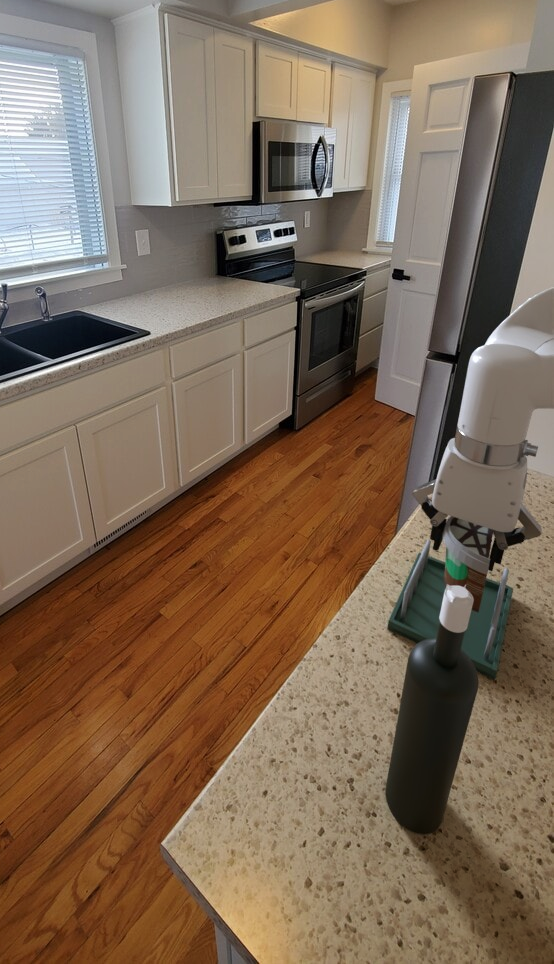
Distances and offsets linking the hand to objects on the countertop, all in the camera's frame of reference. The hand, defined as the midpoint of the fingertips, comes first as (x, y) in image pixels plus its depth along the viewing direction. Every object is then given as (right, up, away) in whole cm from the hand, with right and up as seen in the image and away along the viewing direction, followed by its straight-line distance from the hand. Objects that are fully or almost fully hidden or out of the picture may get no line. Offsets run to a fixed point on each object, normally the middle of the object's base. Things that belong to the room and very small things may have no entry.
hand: (463, 553), depth 68 cm
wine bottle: (-13, -21, -16) cm, 30 cm away
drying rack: (0, -11, +5) cm, 12 cm away
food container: (0, -5, +2) cm, 5 cm away
